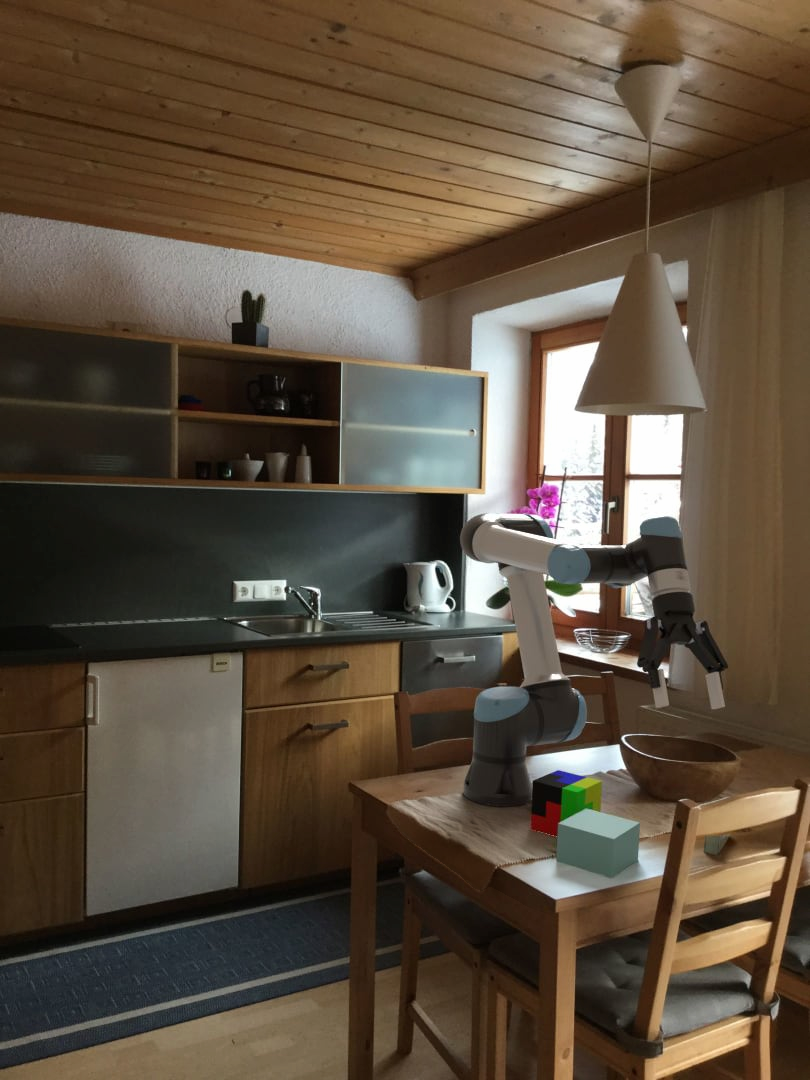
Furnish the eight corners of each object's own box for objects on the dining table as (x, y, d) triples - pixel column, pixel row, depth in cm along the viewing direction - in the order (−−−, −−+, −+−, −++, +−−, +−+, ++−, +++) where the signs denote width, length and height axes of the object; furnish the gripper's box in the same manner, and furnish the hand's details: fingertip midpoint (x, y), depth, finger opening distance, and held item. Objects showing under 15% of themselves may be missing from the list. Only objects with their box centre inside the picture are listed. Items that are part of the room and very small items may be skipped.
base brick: (556, 860, 171) (558, 823, 171) (584, 844, 180) (585, 808, 179) (611, 878, 164) (613, 839, 164) (638, 859, 173) (640, 822, 173)
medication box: (717, 856, 177) (719, 836, 176) (703, 853, 178) (705, 832, 178) (730, 837, 187) (732, 817, 187) (716, 833, 188) (718, 814, 188)
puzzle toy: (556, 817, 194) (558, 770, 194) (599, 829, 188) (601, 780, 187) (530, 829, 187) (532, 780, 186) (574, 843, 180) (577, 792, 180)
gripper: (633, 584, 169) (652, 701, 162) (734, 594, 180) (755, 704, 173) (607, 596, 175) (624, 709, 168) (705, 605, 186) (725, 712, 179)
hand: (690, 707), depth 170 cm, fingers open, 13 cm apart
